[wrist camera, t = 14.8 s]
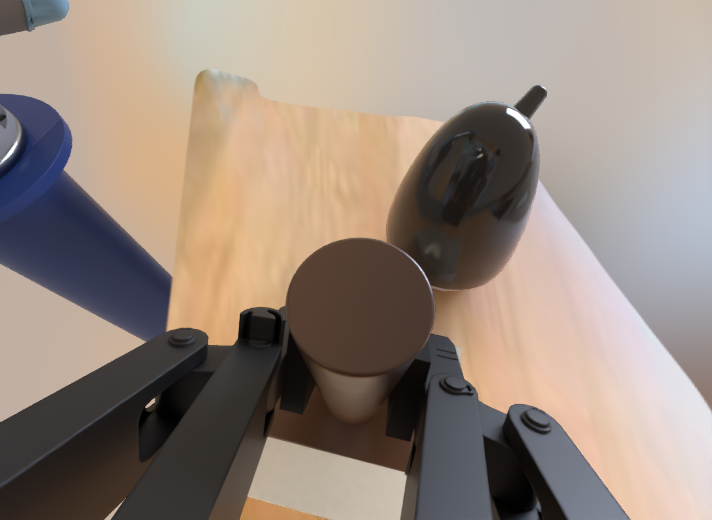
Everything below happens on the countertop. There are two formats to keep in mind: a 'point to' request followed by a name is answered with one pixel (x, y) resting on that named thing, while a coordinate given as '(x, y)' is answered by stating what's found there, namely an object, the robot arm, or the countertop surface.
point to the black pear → (469, 193)
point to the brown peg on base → (355, 346)
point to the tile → (327, 483)
